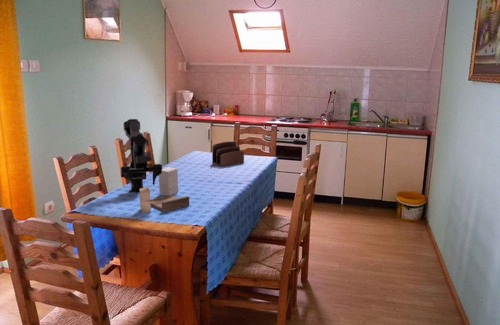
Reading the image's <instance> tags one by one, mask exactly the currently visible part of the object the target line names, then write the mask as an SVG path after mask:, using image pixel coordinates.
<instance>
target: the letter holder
mask: <svg viewBox="0 0 500 325" xmlns="http://www.w3.org/2000/svg"><path fill="white" fill-rule="evenodd" d="M211 148H212V149H211V151H212V152H211V153H212V154H211V155H212V159H211V160H212V165H215V166H218V167H224V166H225V167H226V166H230V165H231V166H232V165H237V164H243V163H245V152H244V151H243V150H241V147H240V146H237V141H221V142H219V143H215V144H212V147H211Z"/></svg>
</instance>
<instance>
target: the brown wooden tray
mask: <svg viewBox="0 0 500 325" xmlns="http://www.w3.org/2000/svg"><path fill="white" fill-rule="evenodd" d="M150 202H151V207H153V208H155V209H157V210H160V211H161V212H164V213H165V212H168V211H172V210H176V209H181V208H183V207H184V208H185V207H188V206H190V196H188V195H187V196H186V195H185V196H181V197H176V196H174V195H169V196H166V195H164V196H162V197H161V196H160V197H157V198H152V199H150Z"/></svg>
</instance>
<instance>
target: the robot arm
mask: <svg viewBox="0 0 500 325" xmlns="http://www.w3.org/2000/svg"><path fill="white" fill-rule="evenodd" d="M140 130H141V122H140V120H138V119H137V118H129V119H127V120H126V121H124V122H123V131H125V133H124V134H125V136H126V137H127V138H128V142H129V143H128V144H129V150H130V158H131V159H130V160H131V161H130V164H129V165H126V166H124V165H123V166H121V167H120V177H121V178H124V179H126V180H127V181H128V182H129V183H130V187H131V189H129V190H128V192H132V193H140V189H141V188H144V180H146V179H147V172H149V173H150V172H152V186H155V184H156V179H157V177H159V174H161V173H162V169H163V165H162V163H153V164H152V167H148V166H149V163H148V162H152V155H151V153H147V154H146V148H147V144H148V140H147V139H146V137H145V136H144V134H143V133H142V132H141V131H140Z"/></svg>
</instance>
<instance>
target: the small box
mask: <svg viewBox="0 0 500 325" xmlns="http://www.w3.org/2000/svg"><path fill="white" fill-rule="evenodd" d="M178 176H179V173H178V168H176V167H172V166H171V167H169V166H167V167H164V168H162V173H161V174H159V176H158V184H159V185H158V189H159V195H161V196H169V195H172V196H174V195H175V194H177V193H179V177H178Z"/></svg>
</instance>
